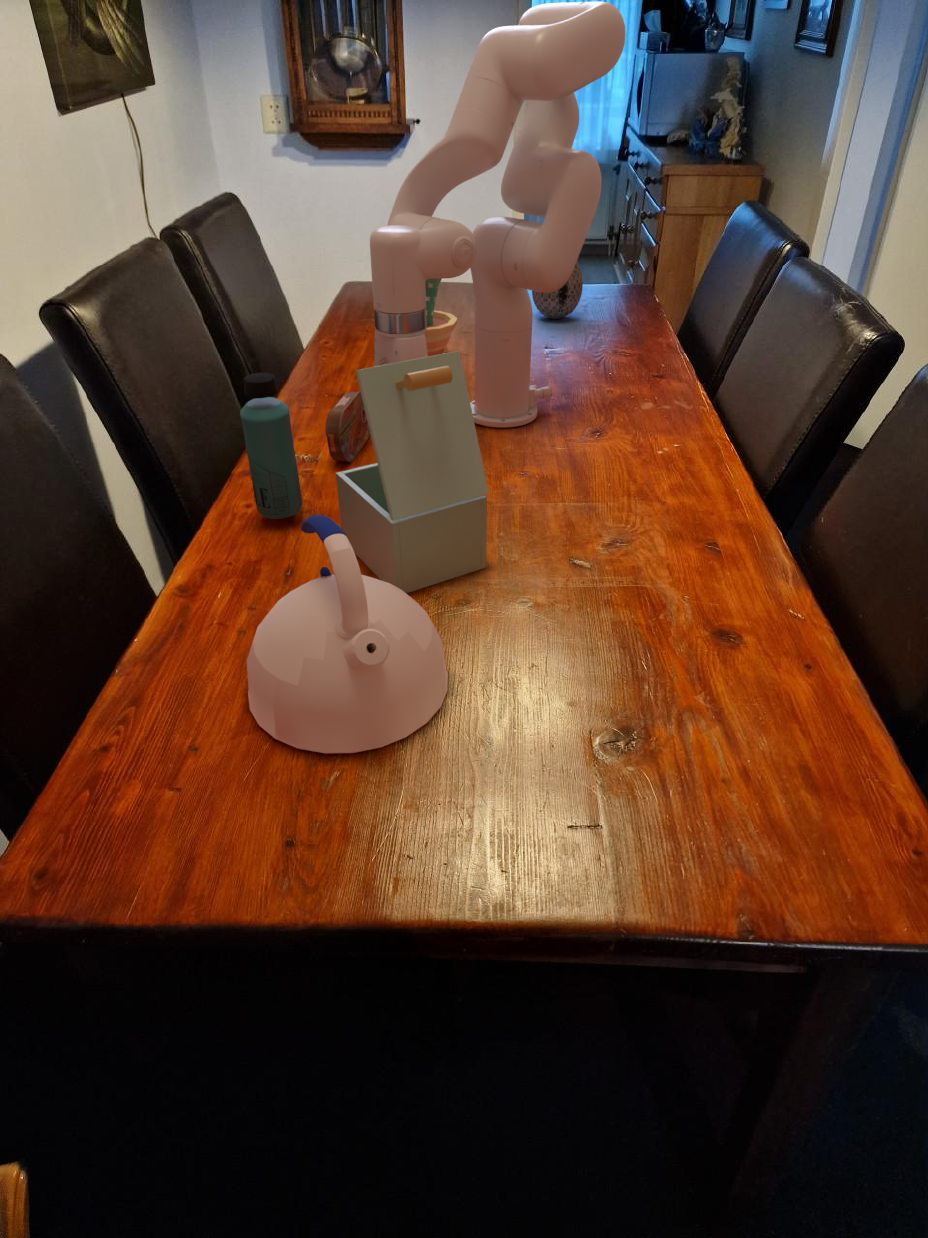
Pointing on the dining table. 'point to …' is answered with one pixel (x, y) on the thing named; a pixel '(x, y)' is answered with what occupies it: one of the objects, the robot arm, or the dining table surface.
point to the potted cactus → (436, 321)
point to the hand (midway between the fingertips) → (406, 437)
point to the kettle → (344, 659)
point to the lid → (423, 433)
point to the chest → (410, 534)
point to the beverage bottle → (270, 449)
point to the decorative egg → (561, 297)
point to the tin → (347, 427)
